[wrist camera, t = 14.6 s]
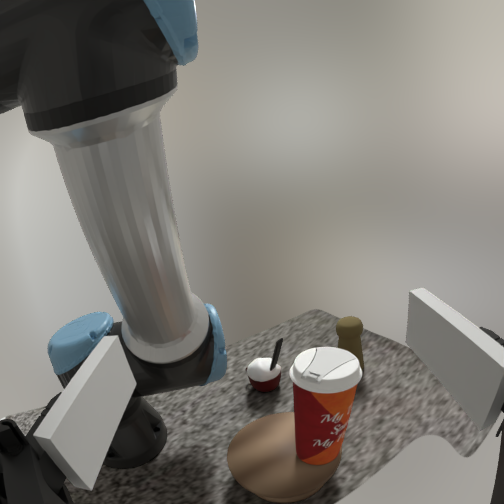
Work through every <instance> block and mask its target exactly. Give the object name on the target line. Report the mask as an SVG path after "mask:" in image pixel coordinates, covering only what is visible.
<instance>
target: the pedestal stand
mask: <svg viewBox="0 0 504 504" xmlns="http://www.w3.org/2000/svg"><path fill="white" fill-rule="evenodd" d="M341 454H342V445H341V448H340V451H339V454H338V456H337V457H336V458H335V459H334V460H333V461H331V462H329V463H327V464H323V465H311V464H307V463H305V462H303V461H302V460H301V459H299V457H298V456H297V453H296V445H295V420H294V412H285V413H277V414H272V415H268V416H265V417H262V418H259V419H257V420H255V421H253V422H251V423H250V424H248V425H246V426H245V427H244V428H242V429H241V430H240V431H239V432H238V433H237V434H236V435H235V437H234V438H233V440H232V441H231V443H230V445H229V448H228V453H227V462H228V466H229V469H230V471H231V473H232V475H233V477H234V478H235V480H236V481H237V482H238V483H239V484H240V485H241V486H242V487H244V488H245V489H247V490H248V491H250V492H252V493H254V494H255V495H257V496H258V497H260V498H262V499H264V500H266V501H269V502H274V503H293V502H298V501H301V500H304V499H306V498H309V497H310V496H312V495H314V494H315V493H316V492H318V491H319V490H320V489H321V488H322V487H323V485H324V484H325V482H327V481H328V480H329V479H330V478H331V477H332V475H333V474H334V473H335V471H336V470H337V468H338V466H339V463H340V460H341Z"/></svg>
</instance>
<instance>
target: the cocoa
mask: <svg viewBox="0 0 504 504" xmlns="http://www.w3.org/2000/svg"><path fill="white" fill-rule="evenodd" d="M282 342H283V338H281V339H279V340H278V341H277V342H276V346H275V350H274V354H273V358H272V359H271V358H258V359H255V360H254V361H253V362H252V363H250V364H249V366H248V367H247V368H246V372H247V374H248V377H249V380H250V383H251V385H252V386H253V388H255V389H256V390H258V391H261V392H268V391H271V390H274V389H275V388H276V387H277V386H278V385H279V382H280V378H281V367H280V366H279V365H278V364H277V361H278V357H279V353H280V349H281V346H282Z"/></svg>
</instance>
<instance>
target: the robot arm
mask: <svg viewBox="0 0 504 504" xmlns="http://www.w3.org/2000/svg"><path fill="white" fill-rule="evenodd" d="M197 53H198V40H197V17H196V8H195V1H194V0H0V114H1V113H4V112H7V111H9V110H11V109H14V108H16V107H18V106H21V105H22V109H23V112H24V116H25V119H26V123H27V127H28V131H29V133H30V134H31V135H33V136H36V137H38V138H41V139H43V140H45V141H48V142H50V143H51V144H52V145H53V146H54V150H55V153H56V157H57V160H58V163H59V166H60V169H61V173H62V176H63V179H64V182H65V185H66V187H67V190H68V193H69V196H70V199H71V201H72V204H73V207H74V209H75V212H76V215H77V217H78V220H79V222H80V225H81V227H82V230H83V232H84V235H85V237H86V240H87V242H88V244H89V247H90V249H91V251H92V253H93V256H94V258H95V260H96V262H97V265H98V267H99V269H100V271H101V273H102V275H103V277H104V280H105V281H106V284H107V286H108V288H109V290H110V292H111V294H112V296H113V298H114V300H115V302H116V304H117V305H118V307H119V309H120V311H121V313H122V315H123V321H122V322H117V323H114V321H113V318H112V317H111V316H110V315H109V314H108V313H106V312H94V313H90V314H87V315H84V316H82V317H80V318H78V319H76V320H73V321H71V322H70V323H68V324H66V325H65V326H64V327H62V328H61V329H60V330H58V331H57V332H56V333H55V334H54V335H53V337H52V338H51V339H50V341H49V344H48V354H49V358H50V360H51V363H52V366H53V368H54V372H55V374H56V375H57V376H58V378H59V380H60V382H61V384H62V386H63V388H64V391H63V392H60V393H59V394H57V395H56V396H55V397H54V398H52V399H51V400H50V402H49V403H48V405H47V406H46V407H45V408H46V409H44V410H43V412H42V413H41V416H39V417H38V419H37V420H36V422H35V423H34V425H33V426H32V428H31V429H30V430H29V432H28V433H27V435H26V436H24V434H23V433H22V431H21V430H20V429H19V427H18V426H17V424H16V423H15V422H14V421H13V420H10V419H4V420H1V421H0V504H74V503H73V501H72V499H71V496H70V494H69V491H68V489H67V488H66V486H65V485H64V484H63V483H64V481H65V479H66V478H67V479H68V480H69V481H70V482H71V483H72V484H73V486H74V487H77V488H81V489H86V490H90V491H92V489H93V486H94V484H95V481H96V479H97V476H98V474H99V471H100V469H101V466H102V464H104V465H107V466H109V467H113V468H131V467H136V466H139V465H142V464H144V463H146V462H148V461H149V460H151V459H152V458H154V457H155V456H156V455H157V454H158V453H159V452H160V451H161V450H162V448H163V446H164V445H165V442H166V439H167V429H166V426H165V424H164V422H163V419H162V417H161V416H160V414H159V413H158V412H157V411H156V410H155V409H154V408H153V407H152V406H151V405H150V404H149V403H148V402H147V401H146V400H145V399H144V398H143V397H142V396H147V395H153V394H159V393H164V392H169V391H175V390H180V389H184V388H189V387H194V386H204V385H207V384H208V383H210V382H213V381H217V380H219V379H221V378H222V377H223V376H224V375H225V373H226V369H227V355H226V350H225V340H224V334H223V330H222V326H221V322H220V319H219V316H218V313H217V311H216V309H215V307H214V306H213V305H211V304H204V303H203V302H202V301H201V300H200V299H199V298H198V297H197V296H196V295H194V294H193V293H191V291H190V286H189V282H188V277H187V273H186V268H185V263H184V258H183V254H182V249H181V244H180V238H179V233H178V229H177V223H176V217H175V212H174V207H173V200H172V195H171V189H170V183H169V177H168V170H167V163H166V157H165V150H164V143H163V135H162V128H161V120H160V111H161V109H162V107H163V105H165V103H166V102H167V101H168V100H169V99H170V98H171V96H172V95H173V94H174V93H175V92H176V91H177V73H176V66H177V65H183V66H184V65H186V64H187V63H189V62H191V61H193V60H194V59H195V58H196V57H197ZM407 323H408V324H407V335H406V343H407V345H408V346H409V347H410V348H411V349H412V350H413V351H414V352H415V354H416V355H417V356H418V357H419V358H420V359H421V360H422V362H423V363H424V364H425V365H426V366H427V367H428V368H429V370H430V371H431V372H432V373H433V374H434V375H435V377H436V378H437V379H438V380H439V381H440V382H441V384H442V385H443V386H444V387H445V388H446V390H447V391H448V392H449V393H450V394H451V396H452V397H453V398H454V399H455V400H456V402H457V403H458V404H459V405H460V406H461V408H462V409H463V410H464V411H465V413H466V414H467V415H468V416H469V418H470V419H471V420H472V421H473V423H474V424H475V425H476V426H477V428H478V429H479V430H480V431H481V430H483V429H485V428H486V427H488V426H490V425H492V424H493V423H495V422H496V420H497V417H498V415H499V413H500V411H501V410H502V412H503V413H504V340H503V339H502V338H501V339H500V337H499V336H498V335H496V334H495V333H494V332H493V331H491V330H488V329H485V328H483V327H480V328H478V327H477V326H476V325H474V324H473V323H472V322H470V321H469V320H468V319H466V318H465V317H464V316H462V315H461V314H459V313H458V312H457V311H455V310H454V309H453V308H451V307H450V306H448V305H447V304H445V303H444V302H443V301H441V300H440V299H439V298H437V297H436V296H434V295H433V294H431V293H430V292H429V291H427V290H426V289H424V288H419V289H415V290H411V291H409V308H408V322H407ZM501 431H502V436H501V446H500V454H499V461H498V468H497V474H496V480H495V485H494V490H493V495H492V499H491V503H490V504H504V419H503V421H502V423H501V426H500V427H499V429H498V431H497V434H496V437H498V436H499V434H500V432H501Z"/></svg>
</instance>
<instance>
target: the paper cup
mask: <svg viewBox="0 0 504 504" xmlns="http://www.w3.org/2000/svg"><path fill="white" fill-rule="evenodd" d="M290 377H291V379H292V381H293V394H294V420H295V445H296V453H297V456H298V457H299V459H301V460H302V461H303V462H305V463H307V464H311V465H323V464H327V463H329V462H331V461H333V460H334V459H335V458H336V457H337V456H338V454H339V451H340V448H341V445H342V442H343V439H344V435H345V432H346V428H347V425H348V421H349V417H350V413H351V409H352V405H353V401H354V397H355V392H356V388H357V383H358V382H359V381H360V380H361V377H362V369H361V367H360V364H359V360H358V359H357V357H355V356H354V355H353V354H352V353H350V352H349V351H346V350H343V349H340V348H334V347H318V348H312V349H309V350H306V351H304V352H302V353H300V354H299V355H298V356H297V357H296V359H295V361H294V364H293V365H292V367H291V369H290Z"/></svg>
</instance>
